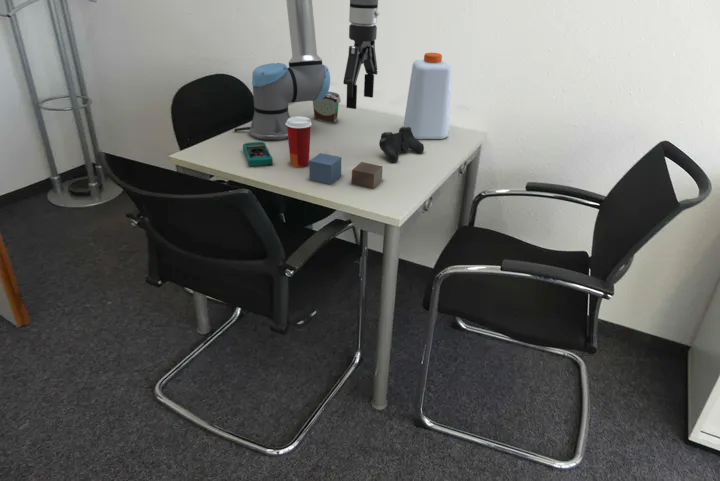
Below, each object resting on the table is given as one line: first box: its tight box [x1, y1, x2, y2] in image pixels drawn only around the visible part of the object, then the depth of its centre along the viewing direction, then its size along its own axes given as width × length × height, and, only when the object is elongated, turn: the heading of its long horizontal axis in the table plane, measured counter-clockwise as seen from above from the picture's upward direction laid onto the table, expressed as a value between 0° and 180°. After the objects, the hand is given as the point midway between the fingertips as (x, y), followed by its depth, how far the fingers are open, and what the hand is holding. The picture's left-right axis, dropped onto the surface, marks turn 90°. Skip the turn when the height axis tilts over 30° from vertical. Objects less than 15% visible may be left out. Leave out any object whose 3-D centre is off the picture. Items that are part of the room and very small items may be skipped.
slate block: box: [308, 152, 342, 186], centre depth 153 cm, size 7×7×6 cm
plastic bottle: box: [402, 52, 453, 140], centre depth 186 cm, size 15×15×28 cm
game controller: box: [378, 126, 425, 163], centre depth 172 cm, size 16×7×10 cm, turn 134°
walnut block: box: [351, 161, 384, 190], centre depth 152 cm, size 7×7×4 cm
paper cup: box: [286, 116, 313, 168], centre depth 160 cm, size 8×8×14 cm
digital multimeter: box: [242, 141, 274, 167], centre depth 166 cm, size 7×15×3 cm, turn 18°
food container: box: [312, 91, 342, 125], centre depth 201 cm, size 12×6×10 cm, turn 58°
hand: (360, 102), depth 153 cm, fingers open, 13 cm apart
